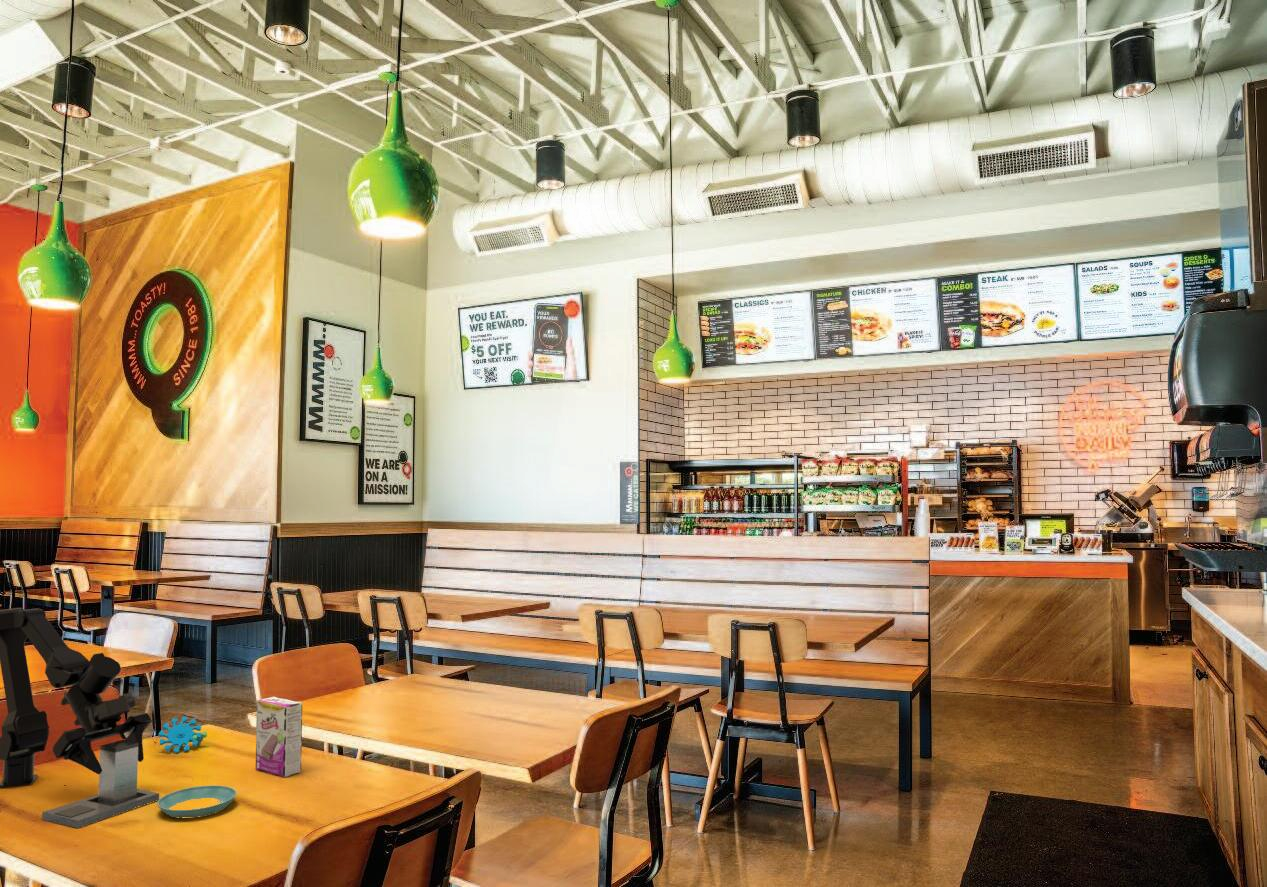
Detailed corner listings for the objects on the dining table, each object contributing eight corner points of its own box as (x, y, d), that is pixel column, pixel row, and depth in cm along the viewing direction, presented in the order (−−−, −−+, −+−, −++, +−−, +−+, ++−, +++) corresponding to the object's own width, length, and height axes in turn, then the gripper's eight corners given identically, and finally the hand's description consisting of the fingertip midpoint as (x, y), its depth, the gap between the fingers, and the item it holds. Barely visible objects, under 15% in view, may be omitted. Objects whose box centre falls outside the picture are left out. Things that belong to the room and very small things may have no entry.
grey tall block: (97, 806, 184) (100, 745, 185) (120, 799, 189) (123, 739, 189) (113, 810, 182) (115, 748, 183) (136, 803, 186) (138, 742, 187)
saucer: (139, 817, 179) (140, 804, 179) (198, 794, 193) (198, 782, 193) (195, 827, 174) (196, 813, 174) (252, 802, 188) (252, 790, 188)
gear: (153, 749, 220) (164, 714, 227) (153, 762, 223) (163, 726, 231) (202, 751, 223) (210, 716, 231) (201, 764, 227) (209, 729, 234)
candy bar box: (253, 770, 209) (255, 699, 210) (272, 765, 213) (274, 695, 214) (283, 778, 203) (285, 705, 204) (302, 772, 207) (303, 701, 208)
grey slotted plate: (42, 819, 177) (42, 811, 177) (124, 793, 193) (124, 785, 193) (77, 828, 172) (78, 820, 172) (159, 800, 188) (159, 792, 188)
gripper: (63, 692, 180) (97, 754, 175) (148, 675, 197) (180, 731, 192) (38, 726, 183) (70, 789, 178) (123, 707, 200) (154, 763, 195)
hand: (121, 766), depth 185 cm, fingers open, 9 cm apart
